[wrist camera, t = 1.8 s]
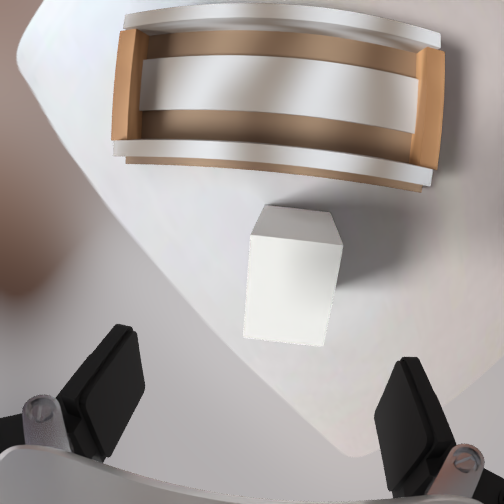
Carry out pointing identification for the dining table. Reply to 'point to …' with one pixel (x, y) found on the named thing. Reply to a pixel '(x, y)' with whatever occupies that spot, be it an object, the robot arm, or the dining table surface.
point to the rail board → (280, 92)
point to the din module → (291, 275)
